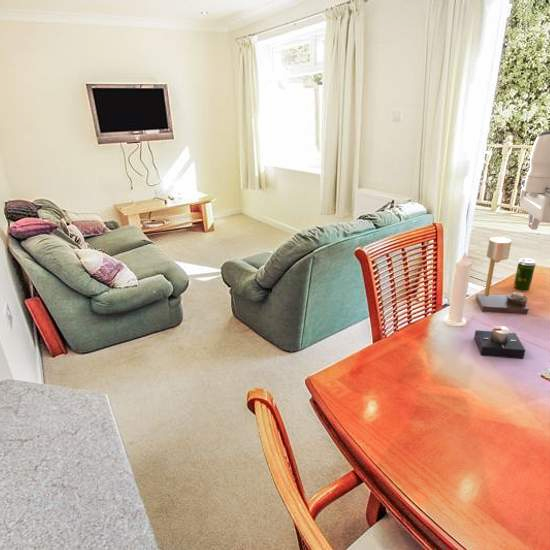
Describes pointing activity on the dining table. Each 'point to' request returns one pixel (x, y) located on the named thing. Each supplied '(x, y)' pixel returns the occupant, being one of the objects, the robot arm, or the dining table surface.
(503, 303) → the lamp base
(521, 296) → the lamp switch
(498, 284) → the dining table surface
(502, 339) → the dimmer knob
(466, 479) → the dining table surface
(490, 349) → the dimmer panel
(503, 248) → the desk lamp
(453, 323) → the candle
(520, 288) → the beer can
